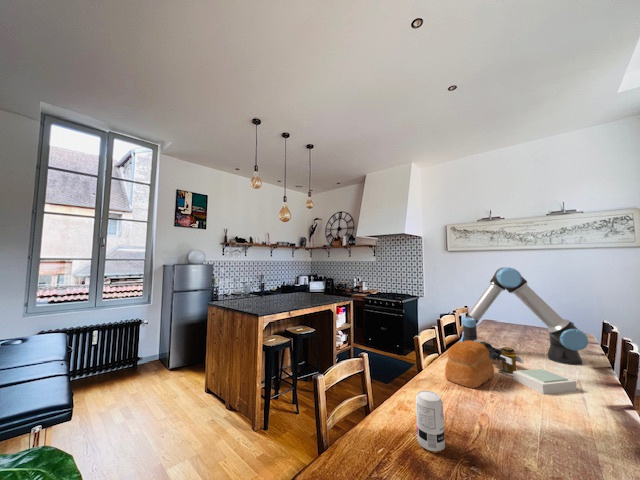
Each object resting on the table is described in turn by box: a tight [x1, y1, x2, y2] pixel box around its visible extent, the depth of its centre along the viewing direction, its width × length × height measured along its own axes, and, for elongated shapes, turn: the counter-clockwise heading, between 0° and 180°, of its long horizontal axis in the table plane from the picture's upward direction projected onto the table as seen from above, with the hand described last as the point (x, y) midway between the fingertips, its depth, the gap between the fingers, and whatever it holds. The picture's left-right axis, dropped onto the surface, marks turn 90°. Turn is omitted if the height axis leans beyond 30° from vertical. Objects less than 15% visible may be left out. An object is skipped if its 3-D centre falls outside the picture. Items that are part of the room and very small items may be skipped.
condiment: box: [497, 346, 517, 377], centre depth 140 cm, size 7×8×12 cm
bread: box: [444, 340, 495, 389], centre depth 135 cm, size 16×26×17 cm, turn 128°
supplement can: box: [415, 390, 446, 452], centre depth 85 cm, size 8×8×15 cm
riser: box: [512, 368, 578, 395], centre depth 126 cm, size 18×15×5 cm
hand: (517, 361), depth 136 cm, fingers closed on condiment, 6 cm apart
